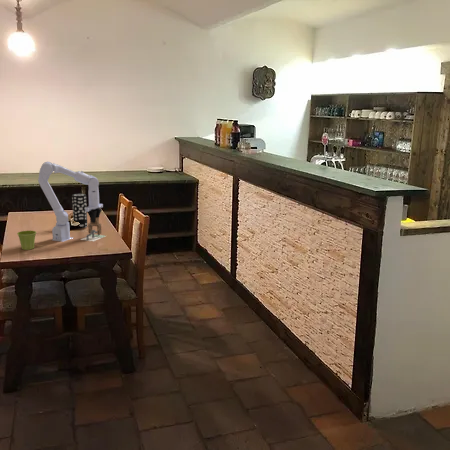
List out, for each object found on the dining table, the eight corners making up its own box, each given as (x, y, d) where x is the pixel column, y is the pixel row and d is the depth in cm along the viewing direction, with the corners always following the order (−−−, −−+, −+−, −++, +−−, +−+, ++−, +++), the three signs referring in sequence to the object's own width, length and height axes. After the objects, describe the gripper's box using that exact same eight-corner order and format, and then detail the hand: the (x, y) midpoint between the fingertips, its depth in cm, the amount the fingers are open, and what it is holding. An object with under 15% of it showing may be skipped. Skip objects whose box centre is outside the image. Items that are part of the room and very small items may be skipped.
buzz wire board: (93, 242, 287) (93, 233, 285) (79, 240, 290) (79, 231, 288) (106, 236, 298) (106, 228, 297) (93, 235, 301) (92, 226, 300)
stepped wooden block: (99, 234, 293) (98, 218, 291) (88, 233, 295) (87, 217, 293) (101, 233, 295) (100, 217, 293) (91, 232, 298) (90, 216, 295)
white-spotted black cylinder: (82, 228, 316) (80, 196, 312) (70, 227, 319) (69, 195, 315) (90, 225, 324) (88, 194, 319) (78, 224, 327) (77, 193, 322)
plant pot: (36, 250, 268) (35, 234, 266) (17, 251, 266) (16, 235, 264) (37, 245, 277) (36, 230, 275) (19, 246, 274) (18, 231, 273)
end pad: (101, 237, 294) (101, 237, 294) (89, 236, 297) (89, 235, 297) (105, 236, 298) (105, 235, 298) (92, 234, 301) (92, 234, 300)
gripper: (92, 200, 283) (93, 225, 286) (107, 196, 296) (107, 219, 299) (81, 199, 285) (82, 223, 288) (96, 195, 298) (97, 218, 301)
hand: (94, 221), depth 294 cm, fingers closed on stepped wooden block, 2 cm apart
